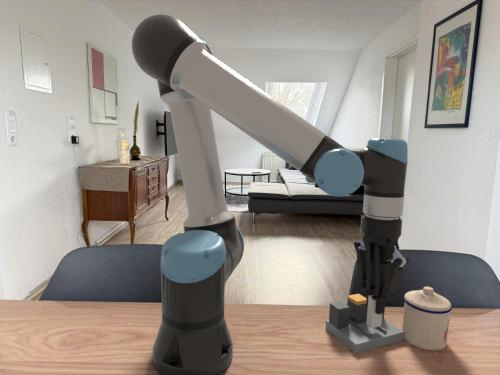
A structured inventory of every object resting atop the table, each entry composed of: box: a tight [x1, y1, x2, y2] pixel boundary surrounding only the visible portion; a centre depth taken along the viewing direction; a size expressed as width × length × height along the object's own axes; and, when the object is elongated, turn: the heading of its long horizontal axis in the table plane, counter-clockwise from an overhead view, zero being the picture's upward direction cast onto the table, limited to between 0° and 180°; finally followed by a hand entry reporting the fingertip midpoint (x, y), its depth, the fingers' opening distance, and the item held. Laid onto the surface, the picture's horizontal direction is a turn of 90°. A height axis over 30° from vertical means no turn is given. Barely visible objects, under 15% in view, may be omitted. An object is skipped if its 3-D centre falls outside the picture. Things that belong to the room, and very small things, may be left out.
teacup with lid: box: [401, 286, 453, 352], centre depth 75 cm, size 12×9×12 cm
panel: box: [325, 295, 405, 355], centre depth 75 cm, size 13×10×6 cm
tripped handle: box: [346, 293, 367, 324], centre depth 77 cm, size 3×3×5 cm
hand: (373, 325), depth 73 cm, fingers closed
